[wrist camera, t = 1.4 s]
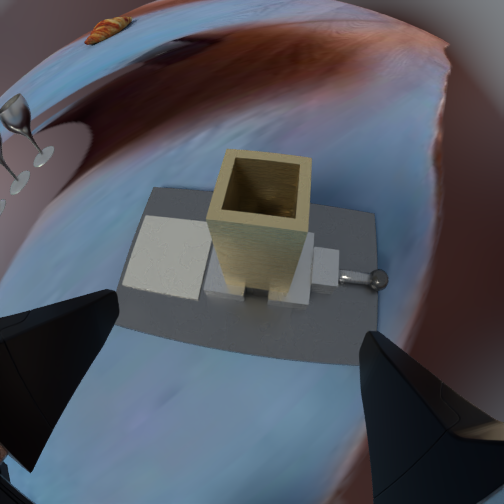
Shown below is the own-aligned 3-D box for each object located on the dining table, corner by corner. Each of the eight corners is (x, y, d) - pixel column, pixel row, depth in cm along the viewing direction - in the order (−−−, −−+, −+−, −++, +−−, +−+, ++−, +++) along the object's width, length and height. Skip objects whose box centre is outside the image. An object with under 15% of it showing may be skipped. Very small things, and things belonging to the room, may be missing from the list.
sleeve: (288, 292, 20) (307, 232, 12) (226, 284, 21) (205, 219, 13) (294, 237, 22) (311, 158, 14) (237, 230, 23) (226, 148, 14)
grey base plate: (377, 366, 20) (420, 358, 14) (113, 324, 22) (67, 302, 15) (377, 220, 26) (405, 175, 19) (156, 192, 28) (134, 145, 21)
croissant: (128, 30, 66) (117, 16, 61) (144, 17, 61) (132, 2, 55) (85, 57, 58) (73, 41, 52) (98, 42, 52) (85, 25, 46)
